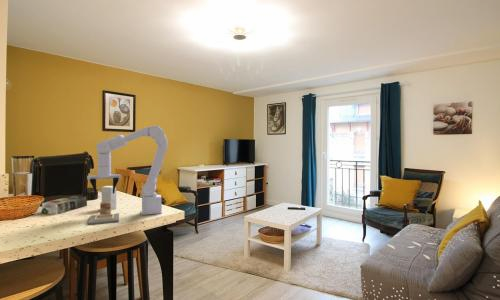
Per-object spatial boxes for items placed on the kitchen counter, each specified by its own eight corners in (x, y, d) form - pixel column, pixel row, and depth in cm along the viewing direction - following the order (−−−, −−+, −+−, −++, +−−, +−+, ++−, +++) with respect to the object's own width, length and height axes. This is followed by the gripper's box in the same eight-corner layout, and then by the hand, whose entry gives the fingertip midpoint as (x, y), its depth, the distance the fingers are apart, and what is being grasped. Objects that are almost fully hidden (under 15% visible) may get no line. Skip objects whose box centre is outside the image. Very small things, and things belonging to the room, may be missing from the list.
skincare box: (116, 208, 152) (116, 186, 151) (110, 210, 148) (110, 187, 147) (107, 207, 154) (107, 185, 153) (101, 209, 149) (101, 186, 149)
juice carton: (56, 215, 137) (55, 202, 137) (39, 214, 139) (39, 202, 139) (87, 206, 157) (87, 195, 157) (72, 205, 159) (72, 194, 159)
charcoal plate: (119, 215, 138) (119, 212, 138) (118, 222, 127) (118, 218, 127) (90, 217, 133) (90, 214, 133) (88, 224, 122) (87, 221, 122)
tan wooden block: (110, 213, 142) (110, 201, 142) (110, 215, 138) (110, 203, 138) (100, 214, 140) (100, 202, 140) (100, 216, 136) (100, 203, 136)
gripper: (120, 164, 145) (120, 191, 145) (87, 165, 138) (88, 193, 139) (121, 166, 139) (121, 193, 139) (86, 167, 132) (87, 196, 133)
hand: (104, 193), depth 139 cm, fingers open, 7 cm apart
